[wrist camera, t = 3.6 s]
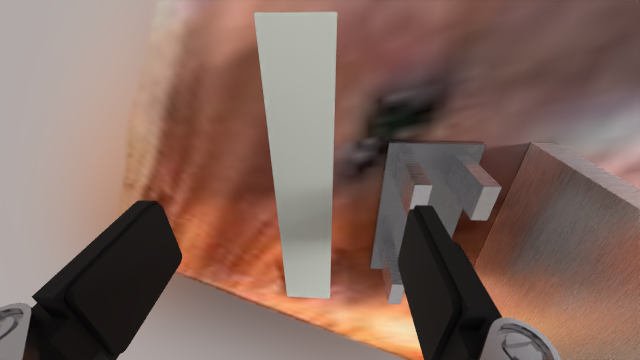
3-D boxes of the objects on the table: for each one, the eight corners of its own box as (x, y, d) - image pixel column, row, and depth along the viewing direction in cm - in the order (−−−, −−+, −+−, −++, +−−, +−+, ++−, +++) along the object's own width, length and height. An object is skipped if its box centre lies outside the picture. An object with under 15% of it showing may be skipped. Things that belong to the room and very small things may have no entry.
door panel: (300, 18, 18) (253, 12, 8) (336, 17, 18) (336, 11, 8) (307, 185, 25) (287, 296, 15) (332, 186, 25) (329, 298, 15)
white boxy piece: (388, 140, 22) (470, 327, 9) (555, 143, 21) (935, 351, 8) (369, 264, 31) (396, 457, 17) (489, 269, 30) (618, 474, 16)
